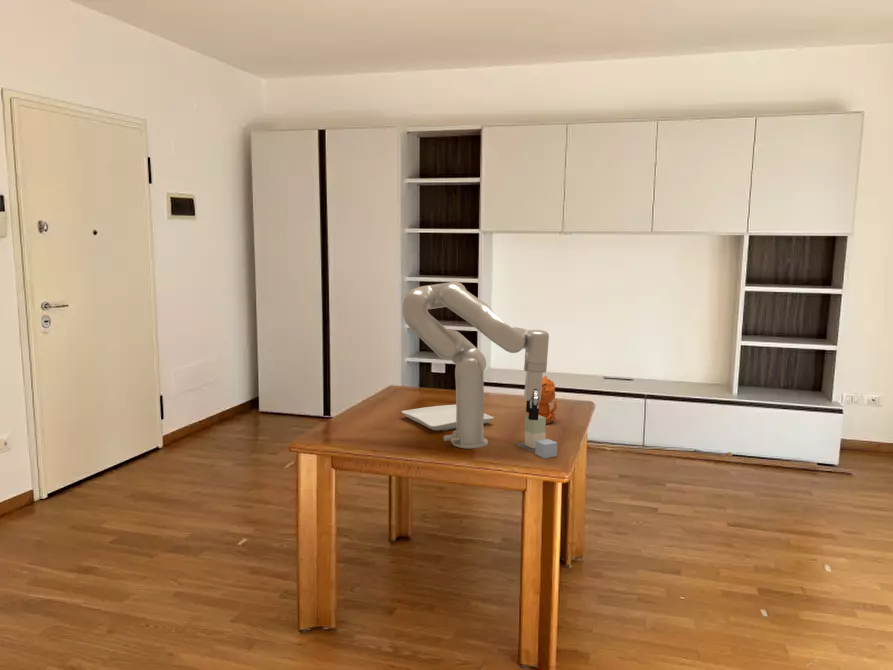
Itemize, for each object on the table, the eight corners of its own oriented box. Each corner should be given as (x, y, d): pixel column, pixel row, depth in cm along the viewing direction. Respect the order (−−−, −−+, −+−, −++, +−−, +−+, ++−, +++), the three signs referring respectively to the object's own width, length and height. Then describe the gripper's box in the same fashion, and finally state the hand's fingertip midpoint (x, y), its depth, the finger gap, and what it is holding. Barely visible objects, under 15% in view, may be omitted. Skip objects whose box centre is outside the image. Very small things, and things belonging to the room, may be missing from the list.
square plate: (495, 426, 267) (495, 416, 266) (431, 436, 254) (431, 425, 253) (459, 411, 290) (459, 402, 290) (400, 419, 277) (400, 409, 277)
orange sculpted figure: (561, 420, 273) (562, 375, 271) (551, 427, 264) (552, 380, 262) (535, 417, 279) (536, 372, 277) (524, 423, 270) (525, 377, 267)
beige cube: (533, 448, 236) (533, 434, 235) (524, 444, 240) (525, 430, 239) (545, 446, 238) (545, 432, 237) (536, 442, 242) (536, 428, 242)
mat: (531, 452, 232) (531, 451, 232) (514, 444, 241) (514, 443, 241) (555, 448, 237) (555, 447, 237) (538, 441, 246) (538, 439, 246)
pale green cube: (533, 434, 235) (533, 419, 234) (524, 430, 239) (525, 416, 239) (545, 432, 237) (545, 417, 237) (536, 428, 242) (536, 414, 241)
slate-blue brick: (544, 459, 225) (544, 444, 224) (535, 455, 230) (535, 440, 229) (556, 457, 227) (557, 442, 227) (547, 453, 232) (548, 438, 231)
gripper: (522, 361, 244) (519, 409, 246) (526, 371, 227) (522, 422, 229) (543, 362, 244) (540, 410, 246) (549, 372, 227) (545, 423, 229)
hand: (531, 416), depth 238 cm, fingers open, 9 cm apart
